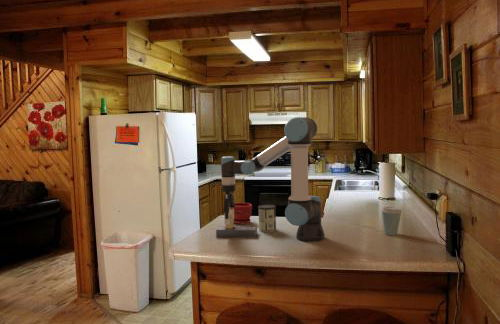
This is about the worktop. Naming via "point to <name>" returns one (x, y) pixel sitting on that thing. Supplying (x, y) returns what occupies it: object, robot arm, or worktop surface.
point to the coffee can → (267, 218)
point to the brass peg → (231, 219)
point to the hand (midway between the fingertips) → (229, 221)
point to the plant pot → (242, 213)
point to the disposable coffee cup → (391, 220)
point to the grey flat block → (236, 232)
